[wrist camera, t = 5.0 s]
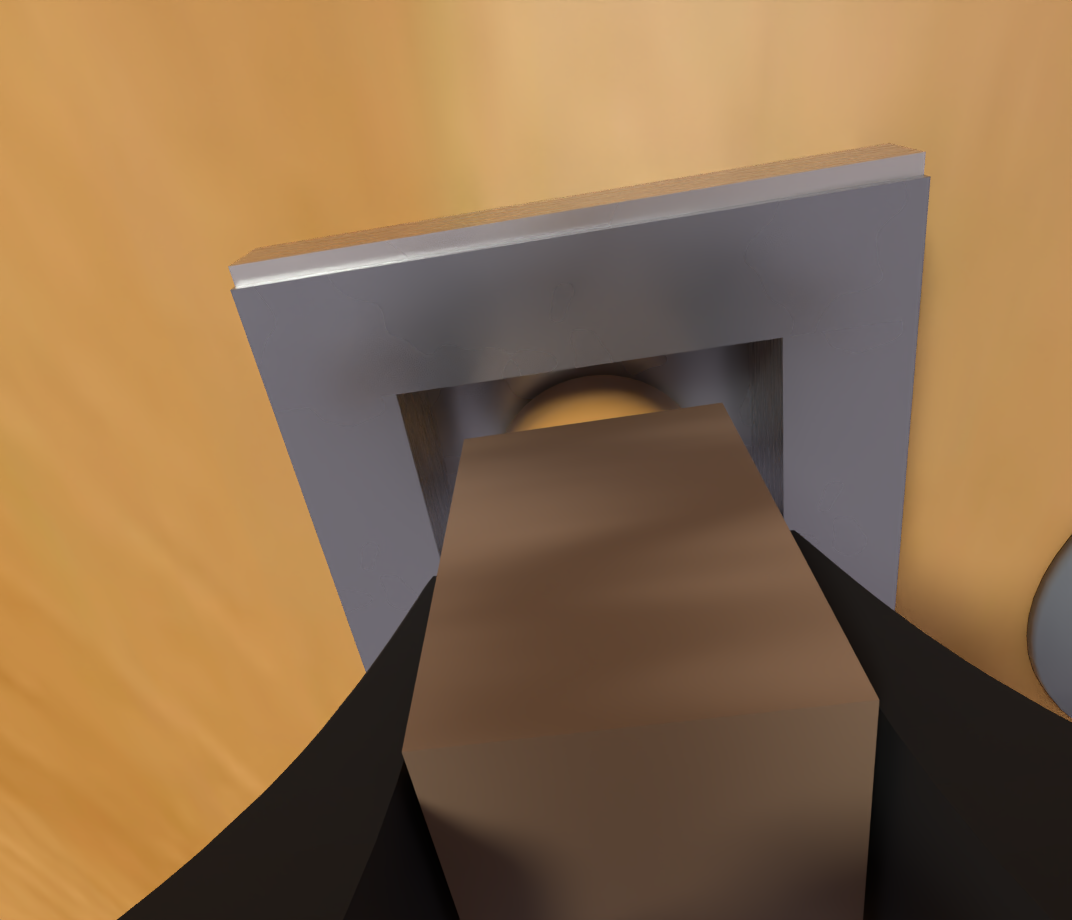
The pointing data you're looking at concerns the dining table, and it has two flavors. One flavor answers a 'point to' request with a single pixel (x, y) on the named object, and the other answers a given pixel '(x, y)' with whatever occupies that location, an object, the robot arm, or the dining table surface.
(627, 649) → the block
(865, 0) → the dining table surface
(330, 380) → the grey square frame
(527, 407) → the button
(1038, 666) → the coaster
